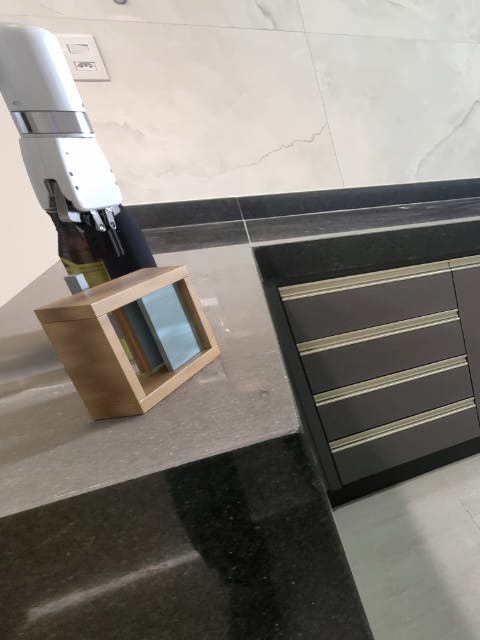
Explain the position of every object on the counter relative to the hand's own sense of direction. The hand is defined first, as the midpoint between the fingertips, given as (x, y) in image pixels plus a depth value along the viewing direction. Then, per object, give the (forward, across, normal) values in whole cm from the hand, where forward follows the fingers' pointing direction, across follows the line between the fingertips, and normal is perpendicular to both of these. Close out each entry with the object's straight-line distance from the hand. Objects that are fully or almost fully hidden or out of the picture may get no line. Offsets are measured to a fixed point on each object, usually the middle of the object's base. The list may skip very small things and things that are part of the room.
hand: (109, 256), depth 81 cm
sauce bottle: (+13, -11, -10) cm, 20 cm away
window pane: (+11, +21, +13) cm, 27 cm away
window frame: (+12, +25, +16) cm, 32 cm away
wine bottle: (+13, -9, -3) cm, 16 cm away
